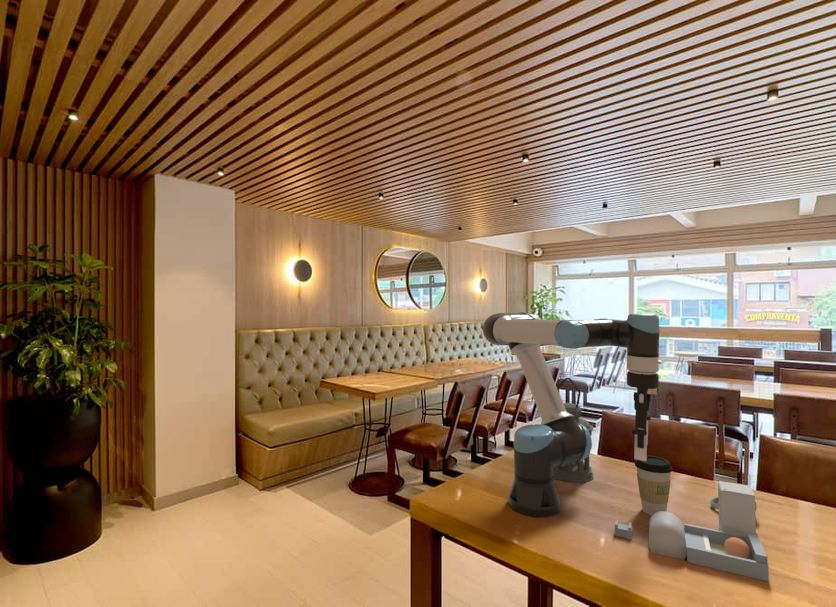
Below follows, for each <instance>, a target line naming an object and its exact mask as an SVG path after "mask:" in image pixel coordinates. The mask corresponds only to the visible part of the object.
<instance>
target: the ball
mask: <svg viewBox="0 0 836 607" xmlns="http://www.w3.org/2000/svg"><path fill="white" fill-rule="evenodd" d="M724 549H725V551H726V553H727V555H731V556H736V557H740V558H745V559H749V558H750V554H751V552H750V548H749V547H748V545H747V544H746V543H745V542H744V541H743V540H741V539H739V538H735V537H731V538H728V539H727V540H726V541H725V543H724Z"/></svg>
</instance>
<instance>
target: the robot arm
mask: <svg viewBox="0 0 836 607" xmlns="http://www.w3.org/2000/svg"><path fill="white" fill-rule="evenodd" d="M626 318H627V320H624V319H623V320H622V319H610V318H609V319H608V318H594V319H578V320H577V319H574V320H573V319H540V318H539V317H538V316H536V315H535V314H533V313H531V312H530V313H529V312H522V311H521V312H512V313H511V312H500V313H499V312H498V313H495V314H492V315H490V316H488V317H487V318H486V319H485V320H484V322H483V324H482V325H483V326H482V334H483V336H484V338H485V339H486V341H487V342H488V343H490V344H492V345H494V346H508V348H509V350H510V352H511V354H512V355H515V356H516V357H517V359H518V361H519V364H520V367H521V370H522V373H523V375H524V377H525V379H526V382H527V384H528V387H529V390H530V392H531V395H532V398H533V400H534V403H535V405H536V407H537V410H538V413H539V416H540V419H541V423H539V424H537V423H536V424H526V425H522V426H521V427H519V428H518V429H516V431H515V432H514V435H513V443H512V444H513V460H514V461H513V462H514V464H513V466H514V467H513V468H514V470H513V471H514V472H513V473H514V479H513V482H512V484H511V487H510V488H511V489H510V491H509V494H508V504H509V506H510V508H512V509H513V510H514V511H515V512H517V513H520V514H523V515H525V516H530V517H537V518H539V517H540V518H543V517H551V516H554V515H556V514H558V513H559V512H560V510H561V500H560V496H559V493H558V490H557V488H556V487H557V486H556V484H555V479H554V468H555V467H559V466H563V465H567V464H572V463H577V462H579V461H582V460H583V461H584V459H586V458H587V457H588V456H589V457H590V454H591V450H592V448H593V442H592V435H591V436H590V433H589V431H588V430H587V428H586V427H584V426H583V425H582V424H579V423H577V422H576V420H575V418H574V415H572V414H570V413H568V412H567V411H566V408H565V406H564V404H563V403H564V401H563V399H562V397H561V395H560V394H561V393H560V391H559V392H558V389H557V385H556V382H555V380H554V377H553V376H552V372H551V371H550V368H549V366H548V363H547V361H546V359H545V356H544V354H543V351H542V349H541V346H542V345H543V346H556V347H562V348H564V349H569V350H570V349H572V350H574V349H575V350H576V349H577V350H578V349H581V348H582V349H583V348H597V347H598V348H599V347H618V348H619V347H620V348H625V349H626V369H627V370H628V371H627V372H626V385H627V386H628V387H631V388H636V391H634V392H633V401H634V402H633V403H634V406H633V407H634V410H635V417H634V418H635V419H634V420H635V421H634V422H635V424H634V430H633V429H632V430H631V434H632V435H634V450H633V451H634V453H633V454H634V455H633V456H634V457H633V458H634V460H635V461H636V460H642V461H647V454H648V453H647V450H648V449H647V448H648V444H649V443H648V442H649V440H648V438H649V421H651V420H652V419H651V418H652V416H649V412H650V403H651V400H652V398H651V397H652V396H651V393H650V392H649V390H654V389H655V390H656V389H658V388H659V385H660V384H659V383H660V381H659V379H660V378H659V377H660V376H659V375H660V374H658V372H659V369H660V368H659V365H661V364H662V363H663V362H662V360H660V358H659V357H660V353H659V352H660V333H661V329H660V319H659V316H658V315H657V314H654V313H629V314H628V315H627V317H626ZM559 393H560V394H559Z"/></svg>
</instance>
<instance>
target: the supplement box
mask: <svg viewBox="0 0 836 607" xmlns="http://www.w3.org/2000/svg"><path fill="white" fill-rule="evenodd" d="M717 491H718V492H717V495H718V496H717V497H718V504H719V509H718V530H719V531H724V532H729V533H734V534H738V535H743V536H747V532H752V533H757V530H756V529H757V527H756V522H757V521H756V512H755V502H756V495H755V492H754V491H753V488H752V486H751V485H747V484H742V483H737V482H736V483H735V482H727V481H722V480H718V482H717Z"/></svg>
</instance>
